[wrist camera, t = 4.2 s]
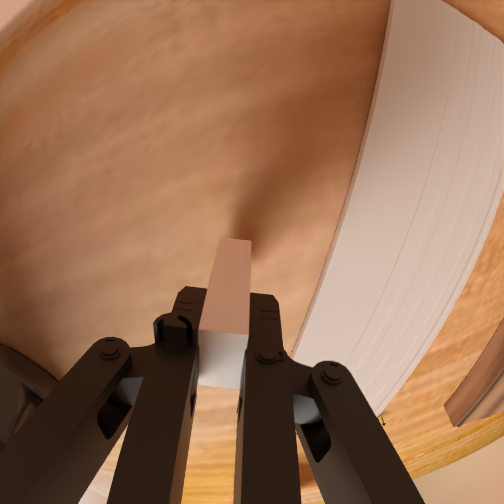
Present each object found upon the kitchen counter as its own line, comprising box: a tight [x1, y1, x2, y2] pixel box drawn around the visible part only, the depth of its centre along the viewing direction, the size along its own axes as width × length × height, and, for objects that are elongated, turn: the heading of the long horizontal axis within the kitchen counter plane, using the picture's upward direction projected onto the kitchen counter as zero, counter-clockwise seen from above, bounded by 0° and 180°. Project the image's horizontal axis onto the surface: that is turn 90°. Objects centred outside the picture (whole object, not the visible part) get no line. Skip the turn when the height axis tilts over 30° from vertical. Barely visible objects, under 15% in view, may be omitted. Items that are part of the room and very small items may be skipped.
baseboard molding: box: [290, 0, 504, 434], centre depth 16 cm, size 31×3×12 cm
